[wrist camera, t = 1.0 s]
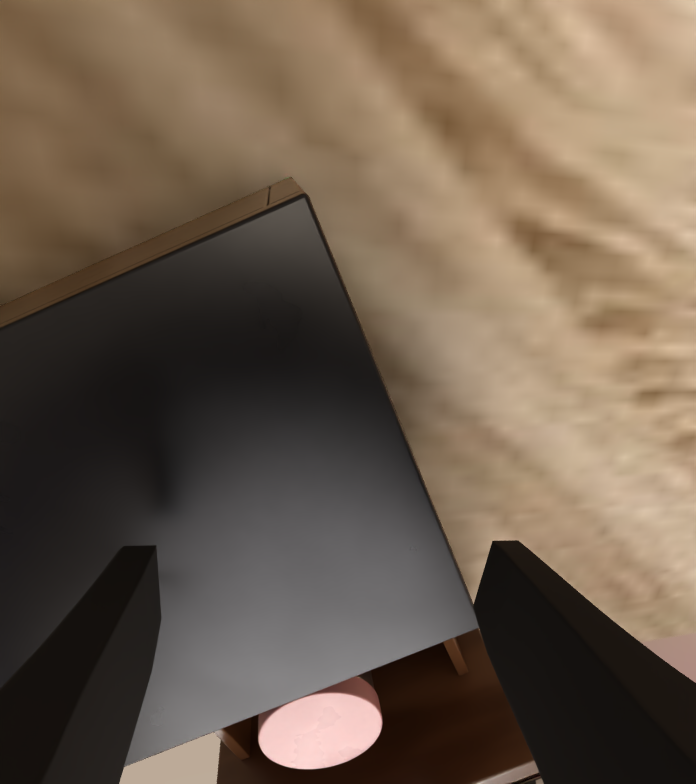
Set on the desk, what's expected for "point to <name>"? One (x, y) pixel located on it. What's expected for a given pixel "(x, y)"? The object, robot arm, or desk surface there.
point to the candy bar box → (534, 781)
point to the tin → (323, 725)
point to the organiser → (218, 469)
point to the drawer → (412, 728)
